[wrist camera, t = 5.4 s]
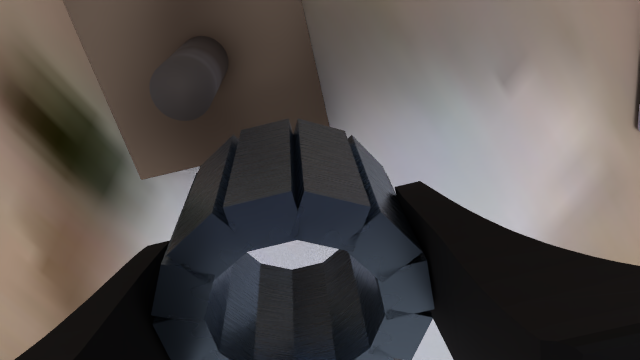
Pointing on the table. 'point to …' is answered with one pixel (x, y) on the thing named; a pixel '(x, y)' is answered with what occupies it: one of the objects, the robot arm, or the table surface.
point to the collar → (298, 284)
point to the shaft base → (235, 102)
